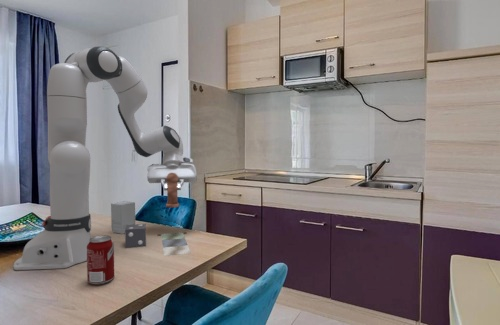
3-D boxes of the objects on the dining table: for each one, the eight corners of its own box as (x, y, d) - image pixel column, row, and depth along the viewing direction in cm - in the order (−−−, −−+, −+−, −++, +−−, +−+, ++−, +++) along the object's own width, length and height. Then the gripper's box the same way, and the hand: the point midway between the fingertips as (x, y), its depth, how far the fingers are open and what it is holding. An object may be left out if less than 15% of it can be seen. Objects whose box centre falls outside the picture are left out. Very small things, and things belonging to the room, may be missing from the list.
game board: (159, 257, 103) (159, 256, 103) (157, 234, 130) (157, 234, 130) (195, 253, 107) (195, 253, 107) (186, 232, 134) (186, 231, 134)
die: (125, 248, 112) (125, 229, 112) (126, 243, 119) (126, 224, 118) (145, 247, 114) (145, 228, 114) (145, 241, 121) (145, 223, 121)
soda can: (103, 287, 82) (102, 242, 81) (81, 285, 83) (80, 241, 82) (119, 276, 88) (118, 235, 88) (98, 274, 90) (97, 234, 89)
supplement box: (136, 230, 137) (135, 202, 136) (121, 234, 130) (120, 204, 130) (125, 227, 141) (125, 200, 140) (110, 231, 134) (110, 203, 134)
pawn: (166, 207, 123) (165, 173, 122) (165, 205, 128) (165, 172, 127) (179, 207, 125) (179, 173, 124) (178, 204, 130) (178, 171, 129)
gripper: (147, 159, 130) (144, 185, 121) (196, 159, 134) (197, 184, 125) (148, 169, 135) (146, 194, 126) (196, 168, 139) (197, 193, 130)
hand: (172, 189), depth 125 cm, fingers closed on pawn, 4 cm apart
